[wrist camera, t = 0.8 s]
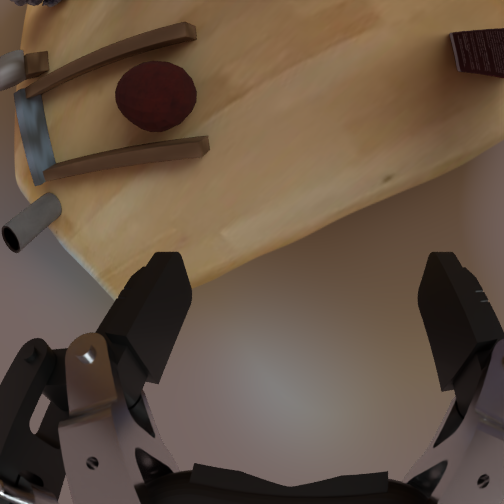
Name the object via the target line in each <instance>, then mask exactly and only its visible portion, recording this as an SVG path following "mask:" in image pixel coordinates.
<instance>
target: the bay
mask: <svg viewBox="0 0 504 504" xmlns="http://www.w3.org/2000/svg"><path fill="white" fill-rule="evenodd" d="M195 39H197V38H196V28H195V26H194V25H192V24H189V23H187V22H182V23H177V24H173V25H170V26H166V27H162V28H159V29H155V30H152V31H148V32H145V33H142V34H139V35H136V36H133V37H130V38H127V39H124V40H122V41H119V42H116V43H114V44H111V45H109V46H106V47H104V48H101V49H99V50H96V51H94V52H92V53H90V54H87V55H85V56H83V57H81V58H79V59H77V60H75V61H73V62H70V63H68V64H67V65H65V66H63V67H61V68H59V69H57V70H55V71H53V72H51V73H50V74H48V75H46V76H44V77H43V78H41V79H39V80H37V81H36V82H34V83H32V84H31V85H29V86H28V87H26V88H24V89H20V90H18V91H17V92H15V93H14V99H15V106H16V112H17V117H18V123H19V128H20V132H21V137H22V141H23V145H24V150H25V153H26V157H27V161H28V165H29V168H30V172H31V175H32V178H33V182H34V185H35V186H38V185H41V184H43V183H44V182H46V181H51V180H55V179H60V178H64V177H69V176H74V175H79V174H84V173H89V172H94V171H100V170H105V169H111V168H117V167H124V166H130V165H137V164H145V163H152V162H160V161H169V160H178V159H189V158H200V157H202V156H203V155H205V154H206V153H207V152H208V151H209V150H210V147H209V139H208V136H201V137H192V138H183V139H175V140H168V141H161V142H155V143H148V144H142V145H136V146H131V147H125V148H120V149H115V150H110V151H105V152H101V153H96V154H92V155H87V156H83V157H79V158H75V159H71V160H67V161H64V162H60V163H56V162H55V159H54V155H53V151H52V147H51V143H50V138H49V134H48V129H47V124H46V119H45V114H44V109H43V103H42V97H41V94H43V93H45V92H47V91H48V90H50V89H52V88H54V87H56V86H58V85H60V84H62V83H64V82H67V81H69V80H71V79H73V78H75V77H78V76H80V75H82V74H84V73H87V72H89V71H92V70H94V69H97V68H99V67H102V66H104V65H107V64H110V63H112V62H115V61H118V60H121V59H124V58H127V57H130V56H133V55H136V54H139V53H143V52H146V51H149V50H153V49H157V48H160V47H164V46H168V45H172V44H177V43H181V42H185V41H190V40H195ZM48 70H49V63H48V52H47V51H45V52H37V53H29V54H26V55H25V56H24V53H23V50H16V51H12V52H9V53H7V54H4V55H3V56H1V57H0V91H2V90H5V89H8V88H10V87H13V86H15V85H17V84H19V83H21V82H22V81H24V80H26V79H30V78H35V77H38V76H39V75H41V74H43V73H44V72H46V71H48Z"/></svg>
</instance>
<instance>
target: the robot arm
mask: <svg viewBox="0 0 504 504" xmlns="http://www.w3.org/2000/svg"><path fill="white" fill-rule="evenodd" d="M191 301H192V289H191V285H190V282H189V279H188V276H187V272H186V269H185V266H184V263H183V259H182V256H181V254H180V253H179V252H156V253H155V254H154V255H153V257H152V258H151V259H150V261H149V262H148V264H147V265H146V267H142V268H141V269H140V270H138V271H137V272H136V273H135V274H134V275H132V276H131V278H130V279H129V281H128V282H127V284H126V285H125V287H124V289H123V290H122V291H121V293H120V294H119V296H118V299H116V300H115V302H114V304H113V305H112V307H111V309H110V310H109V311H108V313H107V315H106V316H105V318H104V319H103V321H102V323H101V324H100V326H99V328H98V329H97V331H96V332H95V333H86V334H83V335H81V336H79V337H78V338H76V339H75V340H74V341H73V342H72V343H71V344H70V346H69V347H68V348H65V349H56V350H52V349H51V348H50V347H49V346H48V345H47V343H46V342H45V341H44V340H43V339H40V338H35V339H32V340H30V341H28V342H27V343H25V344H24V345H23V347H22V348H21V349H20V351H19V352H18V354H17V355H16V357H15V359H14V361H13V363H12V364H11V366H10V368H9V370H8V372H7V373H6V375H5V377H4V379H3V381H2V383H1V385H0V504H58V499H59V495H60V492H61V488H62V485H63V481H64V478H65V475H66V476H67V481H68V484H69V489H70V493H71V496H72V500H73V503H74V504H501V503H502V501H503V499H504V332H503V330H502V327H501V325H500V323H499V321H498V318H497V316H496V314H495V312H494V310H493V309H492V306H491V304H490V302H488V298H487V297H486V295H485V293H484V292H483V289H482V287H481V286H480V284H479V282H478V280H477V278H476V277H475V276H474V275H473V274H472V273H471V272H469V270H467V269H466V268H465V267H464V268H463V267H462V266H461V264H460V262H459V260H458V259H457V257H456V255H455V254H454V253H453V252H432V253H430V255H429V257H428V260H427V264H426V267H425V270H424V274H423V277H422V280H421V283H420V287H419V291H418V307H419V310H420V313H421V316H422V319H423V322H424V325H425V329H426V332H427V336H428V339H429V342H430V346H431V350H432V353H433V357H434V361H435V365H436V369H437V373H438V378H439V382H440V387H441V391H442V392H443V391H448V390H454V391H455V395H456V396H455V397H454V398H453V400H452V401H451V404H450V406H449V408H448V410H447V412H446V414H445V416H444V418H443V420H442V422H441V424H440V426H439V428H438V430H437V432H436V434H435V436H434V437H433V439H432V441H431V443H430V445H429V446H428V448H427V450H426V451H425V452H424V454H423V455H422V456H421V457H420V458H419V459H418V460H417V462H416V463H415V464H414V465H413V466H412V468H411V469H410V470H409V472H408V473H407V474H406V476H405V477H404V479H403V480H402V482H401V481H396V480H392V479H388V471H387V472H379V473H370V474H359V475H344V476H339V477H335V478H331V479H327V480H323V481H319V482H314V483H310V484H304V485H299V486H293V487H287V486H283V485H279V484H276V483H273V482H269V481H266V480H264V479H260V478H258V477H255V476H252V475H249V474H246V473H244V472H241V471H235V470H229V469H223V468H217V467H211V466H206V465H201V464H197V463H194V466H193V470H188V471H180V470H179V468H178V466H177V464H176V462H175V460H174V458H173V457H172V455H171V453H170V452H169V450H168V449H167V448H166V446H165V445H164V443H163V441H162V439H161V437H160V434H159V432H158V429H157V426H156V424H155V421H154V418H153V416H152V413H151V410H150V407H149V405H148V402H147V398H146V396H145V393H144V391H143V386H144V384H145V382H151V383H155V384H159V382H160V379H161V376H162V374H163V371H164V369H165V366H166V364H167V361H168V359H169V356H170V354H171V351H172V349H173V346H174V344H175V341H176V339H177V336H178V334H179V331H180V329H181V327H182V324H183V322H184V319H185V317H186V315H187V312H188V310H189V307H190V305H191ZM41 394H44V395H45V396H46V397H47V398H48V399H49V400H50V401H51V402H50V404H49V406H48V409H47V411H46V413H45V416H44V418H43V420H42V423H41V425H40V428H39V430H38V432H37V433H36V434H33V433H32V432H31V430H30V427H29V421H30V418H31V416H32V414H33V412H34V409H35V407H36V405H37V402H38V400H39V398H40V396H41Z"/></svg>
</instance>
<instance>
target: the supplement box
mask: <svg viewBox="0 0 504 504" xmlns="http://www.w3.org/2000/svg"><path fill="white" fill-rule="evenodd" d="M450 38H451V42H452V46H453V51H454V55H455V60H456V65H457V70H458V71H459V72H468V73H476V74H483V75H489V76H495V77H500V78H504V28H502V29H484V30H473V31H462V32H453V33H450Z"/></svg>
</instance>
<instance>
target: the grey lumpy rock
mask: <svg viewBox="0 0 504 504" xmlns="http://www.w3.org/2000/svg"><path fill="white" fill-rule="evenodd" d="M11 1H14V2H15V4H16V5H18V6H23V5H24V4H26V3H28V4H29V5H33V6H35V5H39V4H40V3H42V1H43V0H11ZM60 1H61V0H44V1H43V4H42V6H44V5H47V6H48V7H52V6H55V5H56V4H58V3H59V2H60Z"/></svg>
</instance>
